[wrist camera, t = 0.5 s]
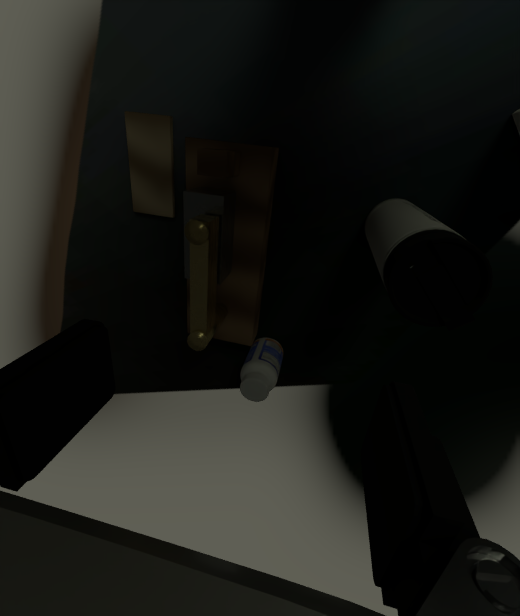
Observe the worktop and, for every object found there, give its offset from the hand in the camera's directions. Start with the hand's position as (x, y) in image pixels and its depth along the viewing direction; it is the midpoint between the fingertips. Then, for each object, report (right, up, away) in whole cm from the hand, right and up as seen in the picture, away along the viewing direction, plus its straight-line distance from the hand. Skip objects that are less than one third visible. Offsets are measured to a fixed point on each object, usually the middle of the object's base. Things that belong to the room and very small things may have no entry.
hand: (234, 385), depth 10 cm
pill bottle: (+2, -4, +39) cm, 40 cm away
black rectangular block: (-5, +12, +28) cm, 31 cm away
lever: (-4, +8, +30) cm, 31 cm away
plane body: (-3, +11, +33) cm, 35 cm away
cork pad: (-13, +21, +30) cm, 39 cm away
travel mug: (+17, +13, +27) cm, 34 cm away
